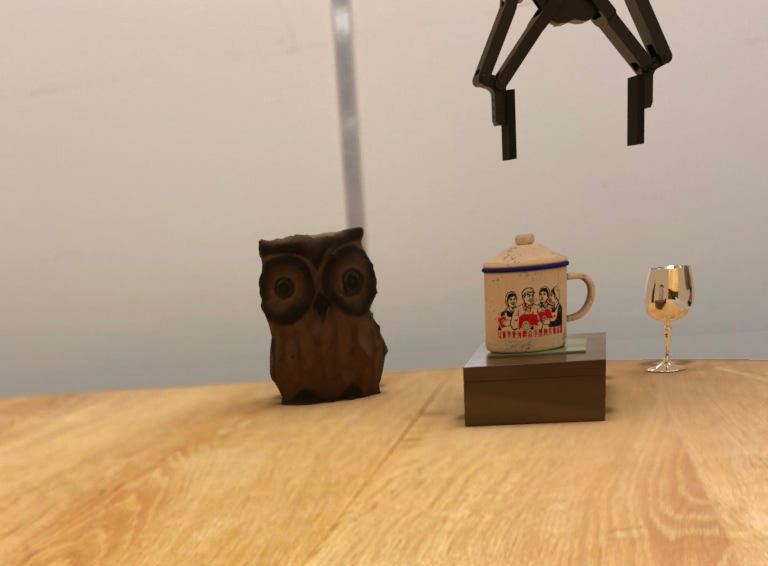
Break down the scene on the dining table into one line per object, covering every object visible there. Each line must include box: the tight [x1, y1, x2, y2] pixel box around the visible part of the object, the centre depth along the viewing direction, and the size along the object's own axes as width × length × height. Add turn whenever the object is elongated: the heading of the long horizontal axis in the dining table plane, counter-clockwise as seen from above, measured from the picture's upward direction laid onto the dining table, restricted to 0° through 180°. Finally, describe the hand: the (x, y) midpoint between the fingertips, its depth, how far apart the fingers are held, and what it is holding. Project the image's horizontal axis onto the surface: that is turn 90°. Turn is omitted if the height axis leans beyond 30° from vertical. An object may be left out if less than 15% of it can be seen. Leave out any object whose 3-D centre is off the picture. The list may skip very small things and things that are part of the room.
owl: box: [258, 226, 389, 406], centre depth 132 cm, size 13×13×20 cm
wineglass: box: [643, 264, 696, 373], centre depth 129 cm, size 6×6×12 cm
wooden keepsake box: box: [462, 331, 607, 427], centre depth 117 cm, size 22×14×6 cm, turn 165°
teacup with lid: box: [481, 233, 596, 353], centre depth 114 cm, size 12×9×12 cm
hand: (572, 152), depth 112 cm, fingers open, 13 cm apart
